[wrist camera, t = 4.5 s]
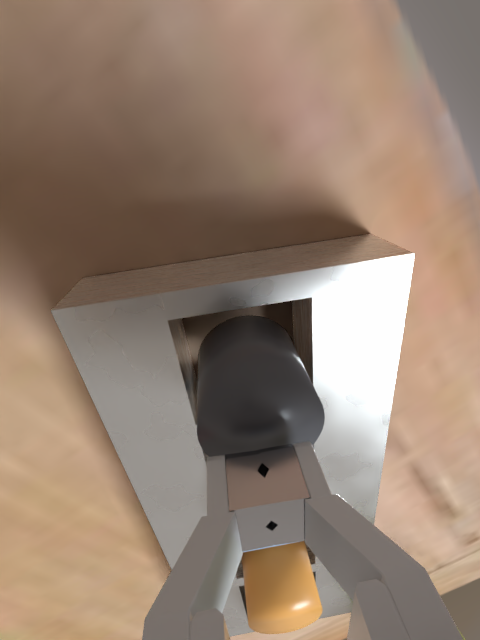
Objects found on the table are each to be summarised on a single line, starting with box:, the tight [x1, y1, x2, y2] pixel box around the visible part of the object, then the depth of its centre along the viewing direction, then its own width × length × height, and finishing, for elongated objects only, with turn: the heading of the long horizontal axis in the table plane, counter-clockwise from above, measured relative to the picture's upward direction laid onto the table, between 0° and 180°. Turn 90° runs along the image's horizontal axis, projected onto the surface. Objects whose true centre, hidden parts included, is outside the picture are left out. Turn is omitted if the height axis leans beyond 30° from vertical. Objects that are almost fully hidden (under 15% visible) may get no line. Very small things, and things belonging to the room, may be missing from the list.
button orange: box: [242, 541, 323, 634], centre depth 17 cm, size 4×4×4 cm
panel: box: [51, 234, 414, 637], centre depth 18 cm, size 28×12×3 cm, turn 7°
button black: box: [197, 315, 325, 457], centre depth 11 cm, size 4×4×4 cm
